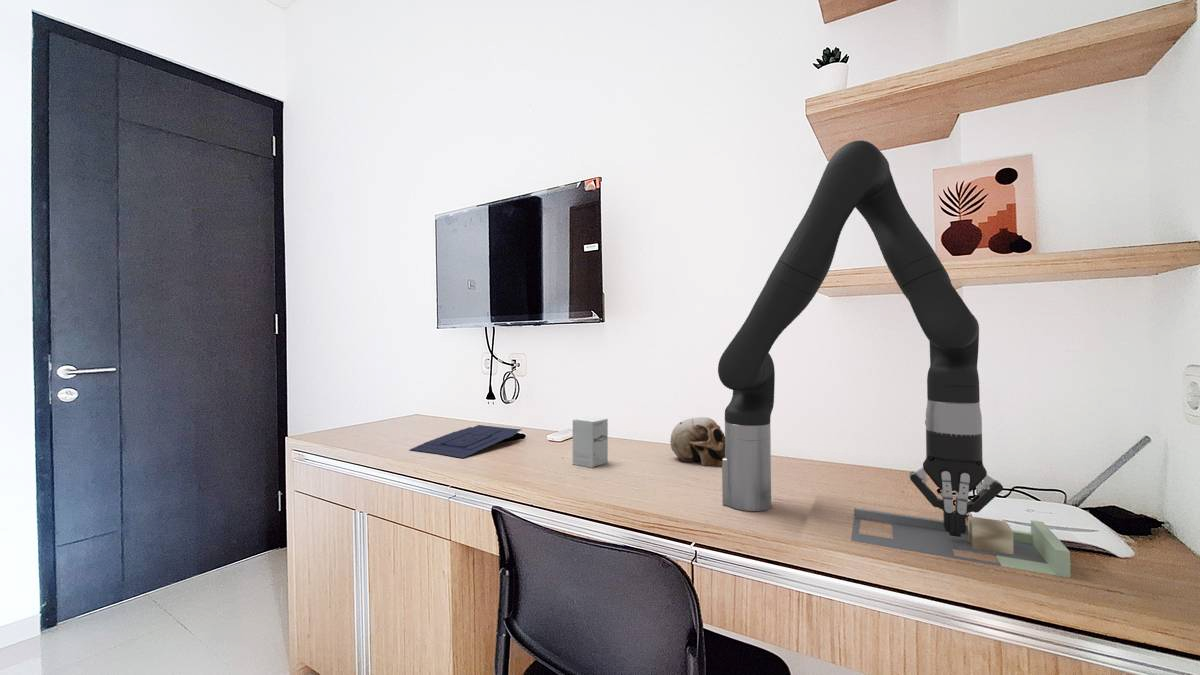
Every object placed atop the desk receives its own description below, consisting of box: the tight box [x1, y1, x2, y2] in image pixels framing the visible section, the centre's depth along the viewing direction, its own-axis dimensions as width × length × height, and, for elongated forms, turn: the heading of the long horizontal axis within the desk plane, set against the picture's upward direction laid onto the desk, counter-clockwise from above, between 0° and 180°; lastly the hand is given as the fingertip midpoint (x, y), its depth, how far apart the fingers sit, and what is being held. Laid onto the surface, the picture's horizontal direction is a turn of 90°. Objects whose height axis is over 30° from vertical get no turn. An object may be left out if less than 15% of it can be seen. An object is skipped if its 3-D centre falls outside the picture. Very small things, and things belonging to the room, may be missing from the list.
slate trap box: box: [850, 507, 1071, 578], centre depth 81 cm, size 27×13×5 cm, turn 61°
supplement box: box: [572, 416, 609, 469], centre depth 141 cm, size 7×7×13 cm
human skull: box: [669, 417, 725, 467], centre depth 143 cm, size 16×17×13 cm
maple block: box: [967, 515, 1013, 555], centre depth 80 cm, size 5×5×4 cm
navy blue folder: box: [409, 424, 523, 459], centre depth 166 cm, size 24×30×4 cm
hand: (954, 534), depth 82 cm, fingers closed
